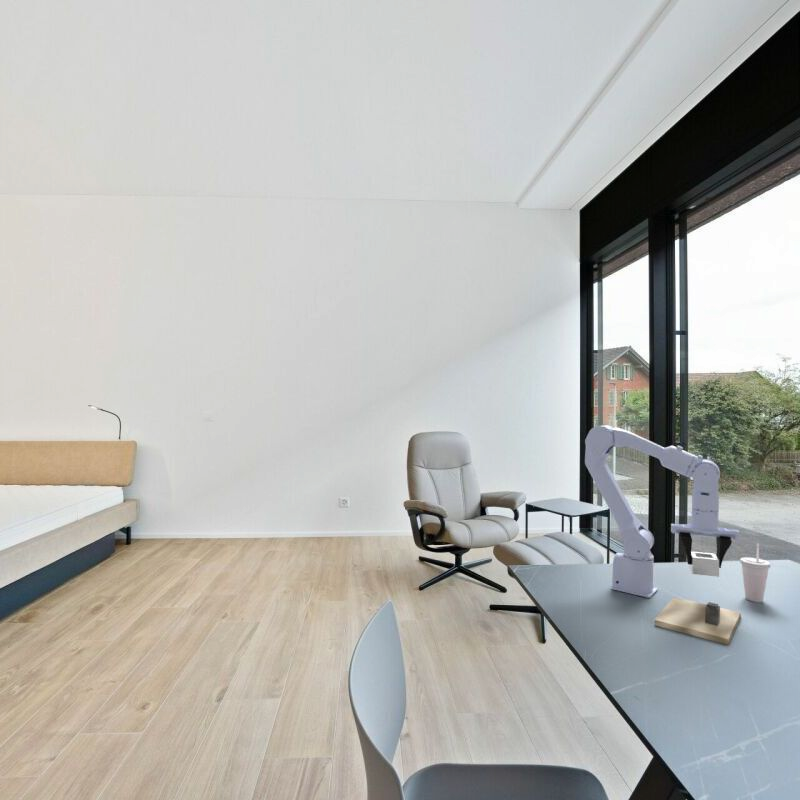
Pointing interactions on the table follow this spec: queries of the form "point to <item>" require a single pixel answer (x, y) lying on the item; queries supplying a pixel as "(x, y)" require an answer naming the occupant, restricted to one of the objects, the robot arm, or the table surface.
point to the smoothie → (754, 577)
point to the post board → (699, 620)
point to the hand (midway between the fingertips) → (703, 565)
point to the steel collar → (704, 564)
